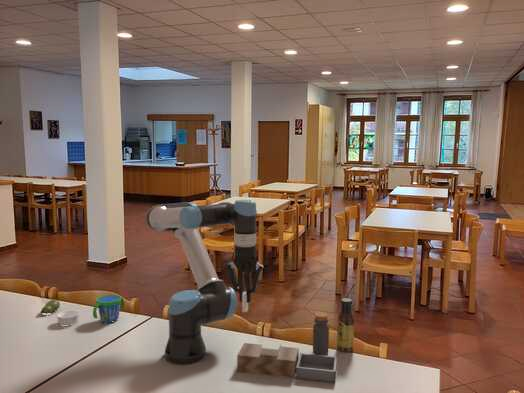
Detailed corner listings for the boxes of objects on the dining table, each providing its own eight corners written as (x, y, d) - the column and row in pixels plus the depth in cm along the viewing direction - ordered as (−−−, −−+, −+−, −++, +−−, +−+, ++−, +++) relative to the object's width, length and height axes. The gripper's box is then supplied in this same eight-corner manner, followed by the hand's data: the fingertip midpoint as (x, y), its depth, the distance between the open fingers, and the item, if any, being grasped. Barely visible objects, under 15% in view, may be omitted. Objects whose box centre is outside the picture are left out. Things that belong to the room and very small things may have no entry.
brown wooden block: (237, 371, 159) (237, 355, 158) (244, 358, 168) (244, 342, 168) (294, 377, 155) (294, 361, 154) (298, 364, 164) (298, 348, 164)
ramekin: (74, 327, 196) (74, 317, 196) (53, 327, 196) (53, 317, 196) (82, 319, 205) (82, 310, 205) (63, 319, 205) (62, 309, 205)
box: (295, 378, 154) (296, 367, 154) (299, 363, 165) (300, 353, 164) (335, 383, 151) (335, 371, 151) (336, 367, 162) (336, 356, 162)
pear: (61, 298, 216) (47, 308, 207) (63, 308, 218) (49, 319, 209) (51, 297, 218) (36, 307, 208) (52, 307, 219) (38, 317, 210)
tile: (261, 354, 158) (261, 347, 158) (264, 347, 164) (264, 340, 164) (278, 356, 157) (278, 349, 157) (281, 349, 163) (281, 342, 163)
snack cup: (100, 328, 195) (99, 305, 194) (86, 322, 201) (86, 300, 200) (131, 318, 207) (131, 296, 206) (117, 312, 213) (117, 291, 212)
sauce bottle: (335, 345, 180) (336, 296, 178) (351, 345, 180) (353, 296, 178) (338, 353, 174) (339, 302, 171) (354, 353, 173) (356, 302, 171)
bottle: (327, 356, 170) (328, 317, 169) (312, 355, 171) (312, 316, 170) (328, 350, 176) (329, 312, 174) (313, 348, 177) (314, 311, 175)
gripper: (224, 246, 156) (224, 313, 159) (261, 248, 153) (261, 316, 156) (230, 241, 163) (230, 305, 166) (265, 243, 161) (265, 308, 163)
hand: (245, 310), depth 161 cm, fingers closed
